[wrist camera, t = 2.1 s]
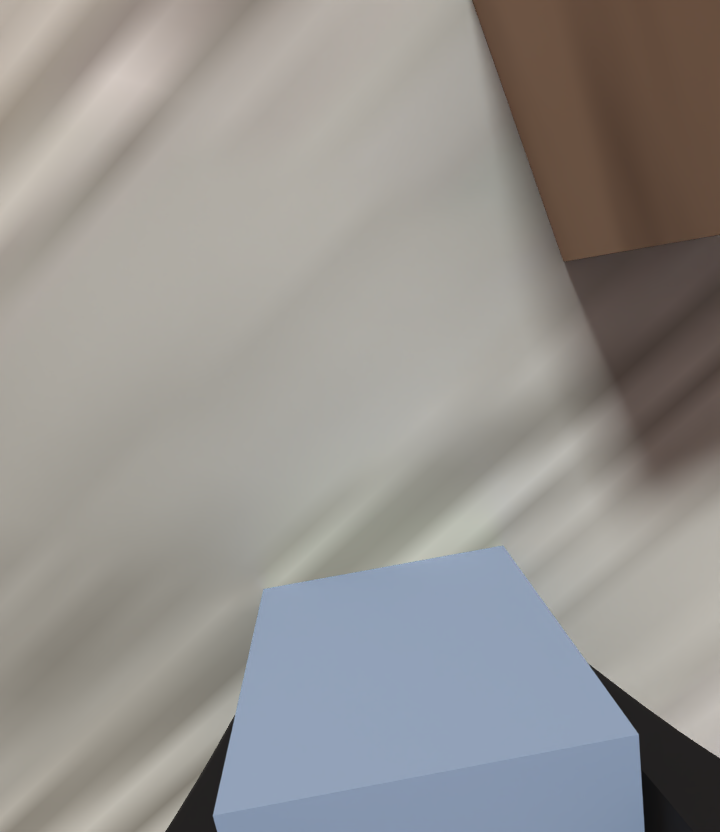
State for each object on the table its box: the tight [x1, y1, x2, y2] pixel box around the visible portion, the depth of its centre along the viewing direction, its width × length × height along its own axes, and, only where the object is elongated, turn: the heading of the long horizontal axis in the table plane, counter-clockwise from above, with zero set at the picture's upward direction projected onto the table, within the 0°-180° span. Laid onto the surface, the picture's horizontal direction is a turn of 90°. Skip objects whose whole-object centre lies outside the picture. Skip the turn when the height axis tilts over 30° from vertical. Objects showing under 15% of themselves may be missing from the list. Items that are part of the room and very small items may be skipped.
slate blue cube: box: [213, 546, 645, 832], centre depth 9 cm, size 5×5×5 cm
